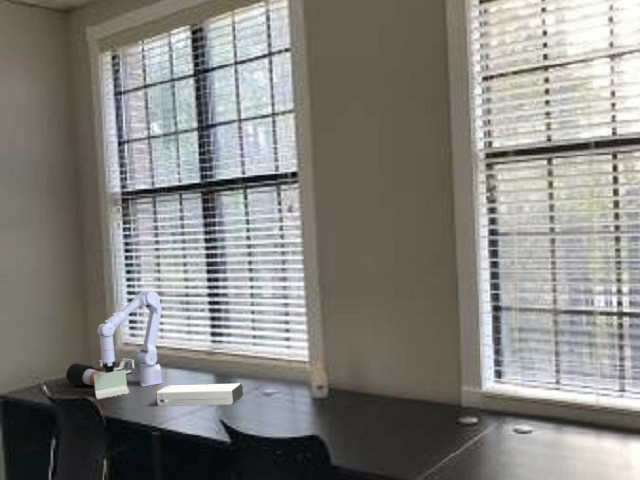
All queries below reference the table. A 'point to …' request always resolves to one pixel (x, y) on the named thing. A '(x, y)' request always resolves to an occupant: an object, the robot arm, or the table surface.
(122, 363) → the phone holder
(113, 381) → the cover
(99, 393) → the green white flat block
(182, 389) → the laminator
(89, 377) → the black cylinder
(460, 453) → the table surface
